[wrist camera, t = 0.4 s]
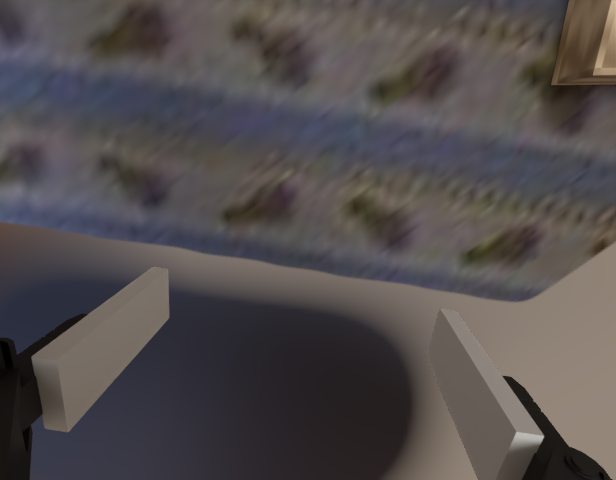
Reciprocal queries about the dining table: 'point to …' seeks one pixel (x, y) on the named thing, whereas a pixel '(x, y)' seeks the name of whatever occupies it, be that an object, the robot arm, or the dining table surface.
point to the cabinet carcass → (587, 44)
